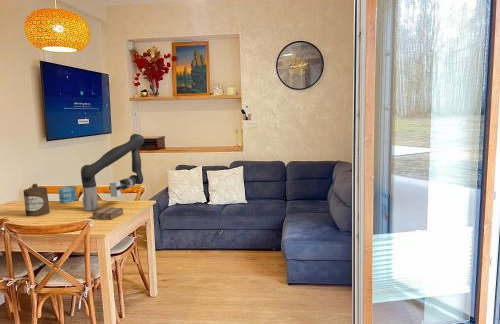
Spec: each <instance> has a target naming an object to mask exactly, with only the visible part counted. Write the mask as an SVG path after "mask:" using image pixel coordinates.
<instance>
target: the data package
mask: <svg viewBox="0 0 500 324" xmlns="http://www.w3.org/2000/svg"><path fill="white" fill-rule="evenodd" d="M58 198H59V202H60V203H61V204H66V203H70V202H74V201H76V199H77V195H76V187H75V186H74V185H68V186H64V187H60V188H58Z"/></svg>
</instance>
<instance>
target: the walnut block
mask: <svg viewBox="0 0 500 324" xmlns="http://www.w3.org/2000/svg"><path fill="white" fill-rule="evenodd" d="M122 215H123V216H124V208H123V207H111V206H109V207H108V206H105V207H104V206H103V208H100V209H99V208H98V209H96V210H94V211H93V212H92V220H100V221H101V220H104V221H113V220H114V219H116V218H119V217H120V216H122Z"/></svg>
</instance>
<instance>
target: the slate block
mask: <svg viewBox="0 0 500 324" xmlns="http://www.w3.org/2000/svg"><path fill="white" fill-rule="evenodd" d="M118 186H120V182H119V181H115V180H114V181H111V182H109V187H110V197H112V198H115V197H116V198H118V197H120V196H122V191H121V190H122V189H119V190H116V187H118Z"/></svg>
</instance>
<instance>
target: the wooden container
mask: <svg viewBox="0 0 500 324" xmlns="http://www.w3.org/2000/svg"><path fill="white" fill-rule="evenodd" d="M31 186H32V187H29V188H26V189H24V190H23V191H22V192H23V198H24V199H23V200H24V209H25V216H26V217H29V216H35V217H41V216H45V215H48V214H49V213H50V203H49V196H48V195H49V194H48V189H47V187H45V186H44V187H43V186H38V184H37V183H33V184H32V185H31Z"/></svg>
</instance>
